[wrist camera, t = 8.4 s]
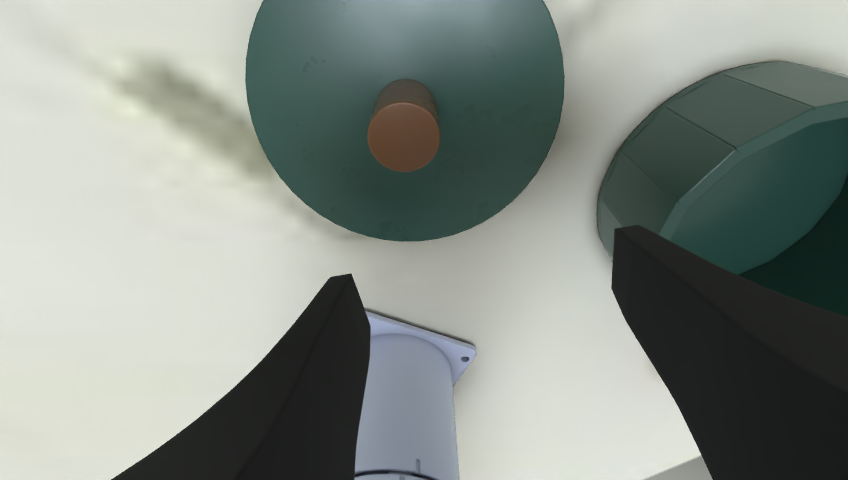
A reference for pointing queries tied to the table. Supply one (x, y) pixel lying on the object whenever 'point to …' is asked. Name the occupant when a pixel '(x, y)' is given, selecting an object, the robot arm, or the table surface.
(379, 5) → the pan lid
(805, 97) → the pan
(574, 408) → the table surface
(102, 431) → the table surface
